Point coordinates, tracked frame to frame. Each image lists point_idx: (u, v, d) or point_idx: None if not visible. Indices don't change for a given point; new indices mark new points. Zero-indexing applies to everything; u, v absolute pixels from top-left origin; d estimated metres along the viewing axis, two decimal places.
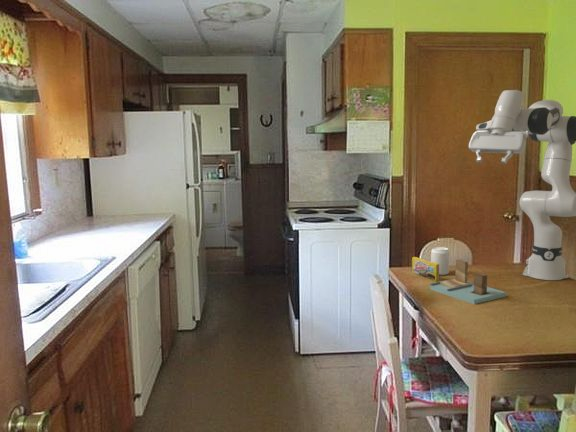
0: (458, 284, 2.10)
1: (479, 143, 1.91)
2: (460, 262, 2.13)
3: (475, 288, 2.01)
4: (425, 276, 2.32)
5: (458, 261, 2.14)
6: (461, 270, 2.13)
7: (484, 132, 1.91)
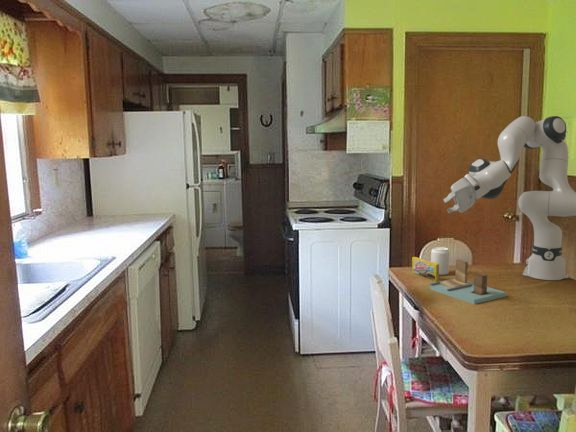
0: (458, 284, 2.10)
1: (460, 194, 2.08)
2: (460, 262, 2.13)
3: (475, 288, 2.01)
4: (425, 276, 2.32)
5: (458, 261, 2.14)
6: (461, 270, 2.13)
7: (471, 191, 2.08)
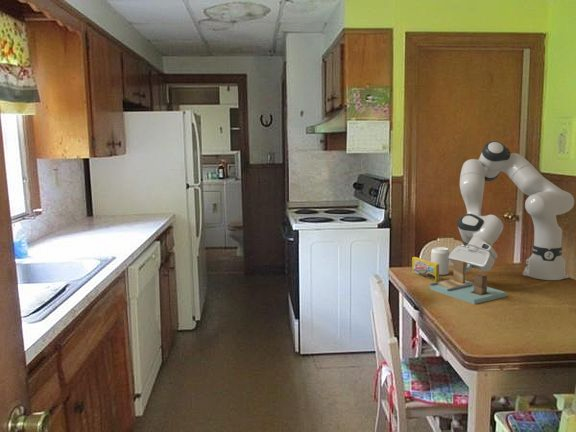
0: (456, 285, 2.09)
1: None
2: (458, 262, 2.12)
3: (475, 288, 2.01)
4: (425, 276, 2.32)
5: (456, 261, 2.13)
6: (459, 271, 2.12)
7: None
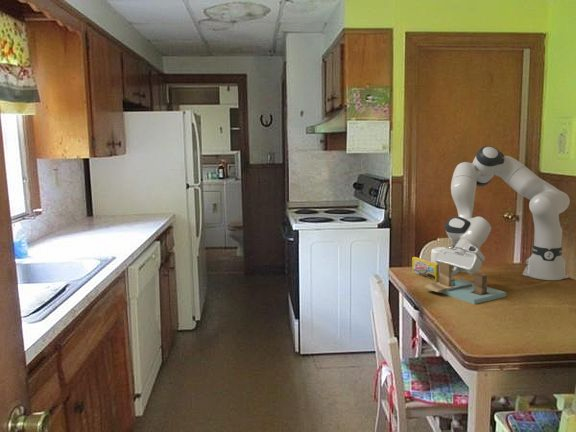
0: (441, 288, 2.05)
1: None
2: (444, 265, 2.08)
3: (475, 288, 2.01)
4: (425, 276, 2.32)
5: (442, 264, 2.09)
6: (445, 273, 2.08)
7: None
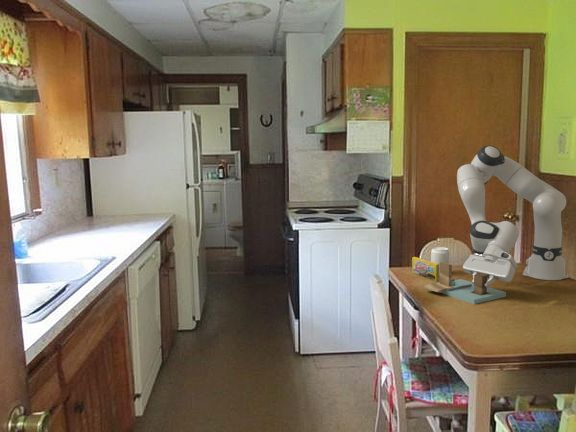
0: (441, 288, 2.05)
1: None
2: (444, 265, 2.08)
3: (475, 288, 2.01)
4: (425, 276, 2.32)
5: (442, 264, 2.09)
6: (445, 273, 2.08)
7: None
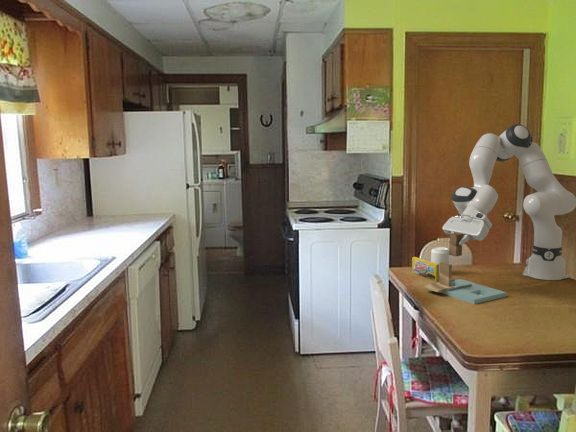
0: (441, 288, 2.05)
1: None
2: (444, 265, 2.08)
3: (450, 246, 2.10)
4: (425, 276, 2.32)
5: (442, 264, 2.09)
6: (445, 273, 2.08)
7: None
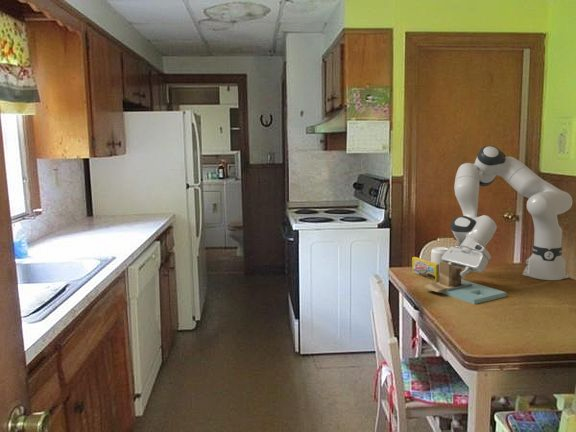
0: (441, 288, 2.05)
1: None
2: (444, 265, 2.08)
3: None
4: (425, 276, 2.32)
5: (442, 264, 2.09)
6: (445, 273, 2.08)
7: None
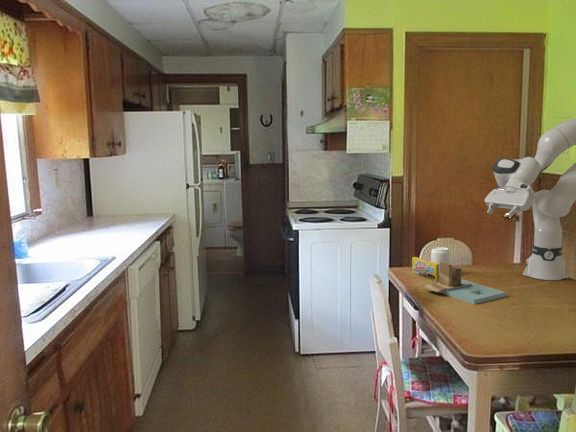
0: (441, 288, 2.05)
1: None
2: (444, 265, 2.08)
3: None
4: (425, 276, 2.32)
5: (442, 264, 2.09)
6: (445, 273, 2.08)
7: None
